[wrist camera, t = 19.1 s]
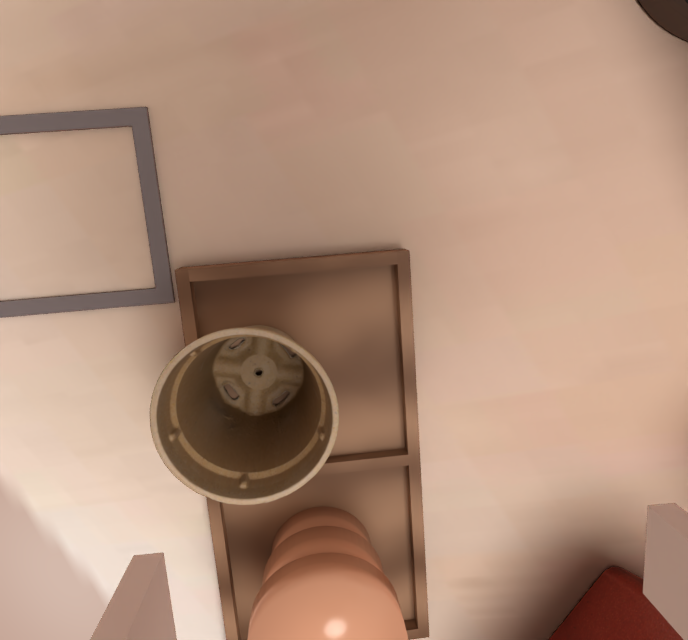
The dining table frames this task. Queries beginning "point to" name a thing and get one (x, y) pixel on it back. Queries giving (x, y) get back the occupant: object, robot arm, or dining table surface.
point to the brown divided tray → (353, 402)
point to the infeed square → (150, 200)
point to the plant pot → (615, 612)
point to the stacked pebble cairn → (325, 583)
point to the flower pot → (244, 416)
